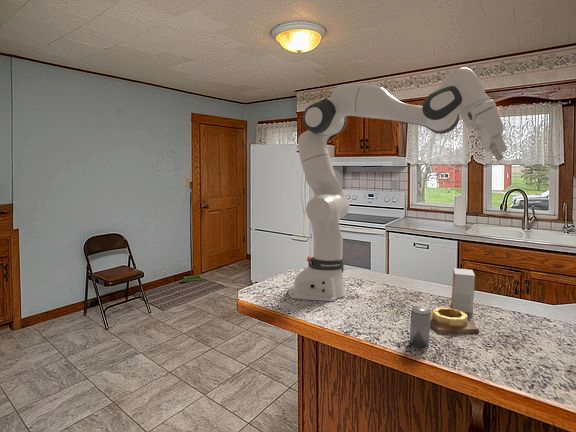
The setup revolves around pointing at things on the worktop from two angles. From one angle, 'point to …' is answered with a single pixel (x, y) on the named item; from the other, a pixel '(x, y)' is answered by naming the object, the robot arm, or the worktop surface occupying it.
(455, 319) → the ring
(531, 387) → the worktop surface
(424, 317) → the grey metal cylinder
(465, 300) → the small box
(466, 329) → the board
